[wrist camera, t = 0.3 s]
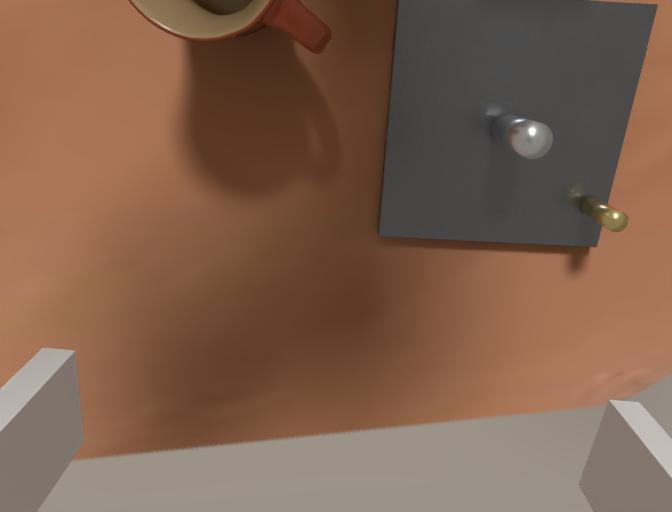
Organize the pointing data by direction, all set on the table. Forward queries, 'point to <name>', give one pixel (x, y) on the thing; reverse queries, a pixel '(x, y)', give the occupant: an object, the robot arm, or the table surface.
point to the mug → (235, 19)
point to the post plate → (507, 79)
